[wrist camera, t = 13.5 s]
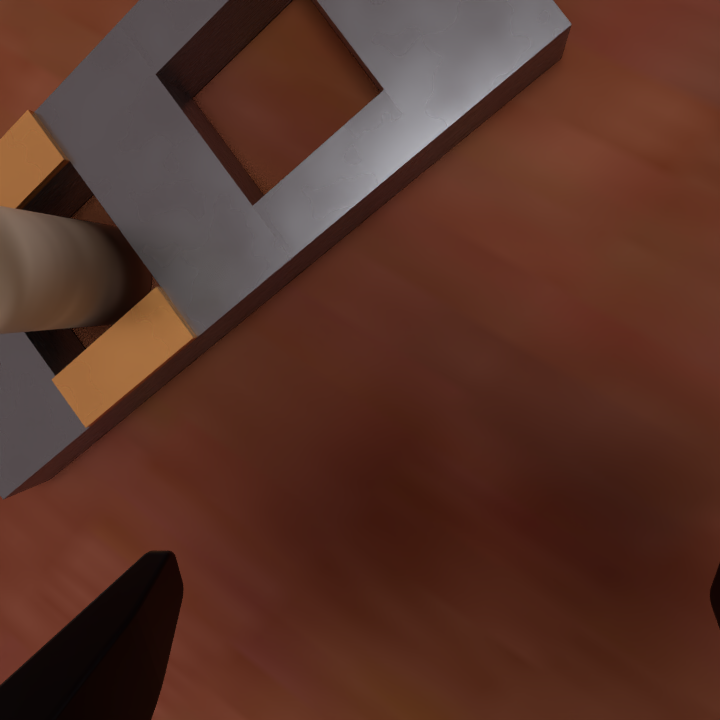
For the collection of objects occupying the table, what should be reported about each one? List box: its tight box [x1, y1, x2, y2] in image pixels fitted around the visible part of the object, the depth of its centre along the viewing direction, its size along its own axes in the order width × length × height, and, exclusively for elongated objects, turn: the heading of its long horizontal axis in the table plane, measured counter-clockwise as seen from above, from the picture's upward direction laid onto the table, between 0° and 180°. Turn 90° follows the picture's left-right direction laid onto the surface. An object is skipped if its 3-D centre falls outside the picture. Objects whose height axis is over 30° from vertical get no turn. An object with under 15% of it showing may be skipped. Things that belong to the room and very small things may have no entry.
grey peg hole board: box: [0, 0, 571, 499], centre depth 21 cm, size 26×10×3 cm, turn 127°
